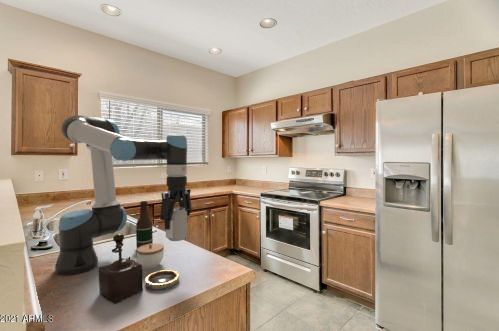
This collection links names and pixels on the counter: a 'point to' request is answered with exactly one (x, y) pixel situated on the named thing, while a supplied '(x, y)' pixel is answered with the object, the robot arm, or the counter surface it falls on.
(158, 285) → the coaster
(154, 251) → the lidded jar
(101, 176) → the robot arm
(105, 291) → the dark brown coffee grinder
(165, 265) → the counter surface
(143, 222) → the beer bottle
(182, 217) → the can
